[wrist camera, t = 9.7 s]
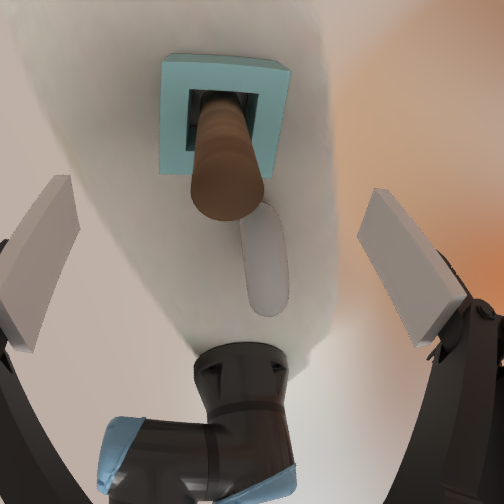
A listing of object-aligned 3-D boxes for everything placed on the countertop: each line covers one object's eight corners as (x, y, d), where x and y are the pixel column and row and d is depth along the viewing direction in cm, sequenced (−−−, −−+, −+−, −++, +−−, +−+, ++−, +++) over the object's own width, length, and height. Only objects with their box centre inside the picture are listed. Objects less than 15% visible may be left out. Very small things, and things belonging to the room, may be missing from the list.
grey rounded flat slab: (233, 183, 29) (243, 259, 21) (271, 178, 29) (295, 252, 21) (243, 264, 35) (254, 341, 28) (275, 259, 35) (293, 336, 28)
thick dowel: (236, 121, 25) (258, 222, 14) (199, 119, 24) (189, 220, 14) (240, 87, 23) (269, 161, 12) (202, 84, 22) (192, 156, 12)
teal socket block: (261, 151, 27) (271, 178, 23) (167, 146, 25) (159, 173, 22) (276, 61, 22) (291, 71, 18) (171, 53, 20) (162, 61, 17)
